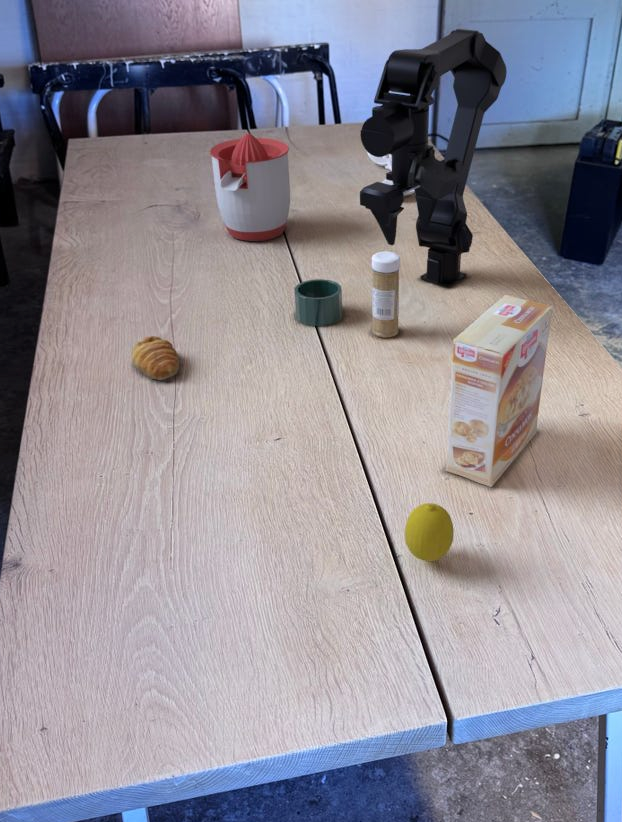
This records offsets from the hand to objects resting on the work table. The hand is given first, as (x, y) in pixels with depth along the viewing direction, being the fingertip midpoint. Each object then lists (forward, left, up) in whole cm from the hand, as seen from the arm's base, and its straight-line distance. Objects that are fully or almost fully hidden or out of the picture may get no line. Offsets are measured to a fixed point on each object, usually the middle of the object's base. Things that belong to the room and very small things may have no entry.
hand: (408, 236), depth 146 cm
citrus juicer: (-8, -46, -13) cm, 49 cm away
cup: (+12, -10, -13) cm, 20 cm away
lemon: (+51, +42, -13) cm, 67 cm away
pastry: (+41, -18, -13) cm, 47 cm away
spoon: (-52, -44, -13) cm, 70 cm away
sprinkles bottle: (+10, +3, -13) cm, 17 cm away
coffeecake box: (+28, +36, -13) cm, 47 cm away
